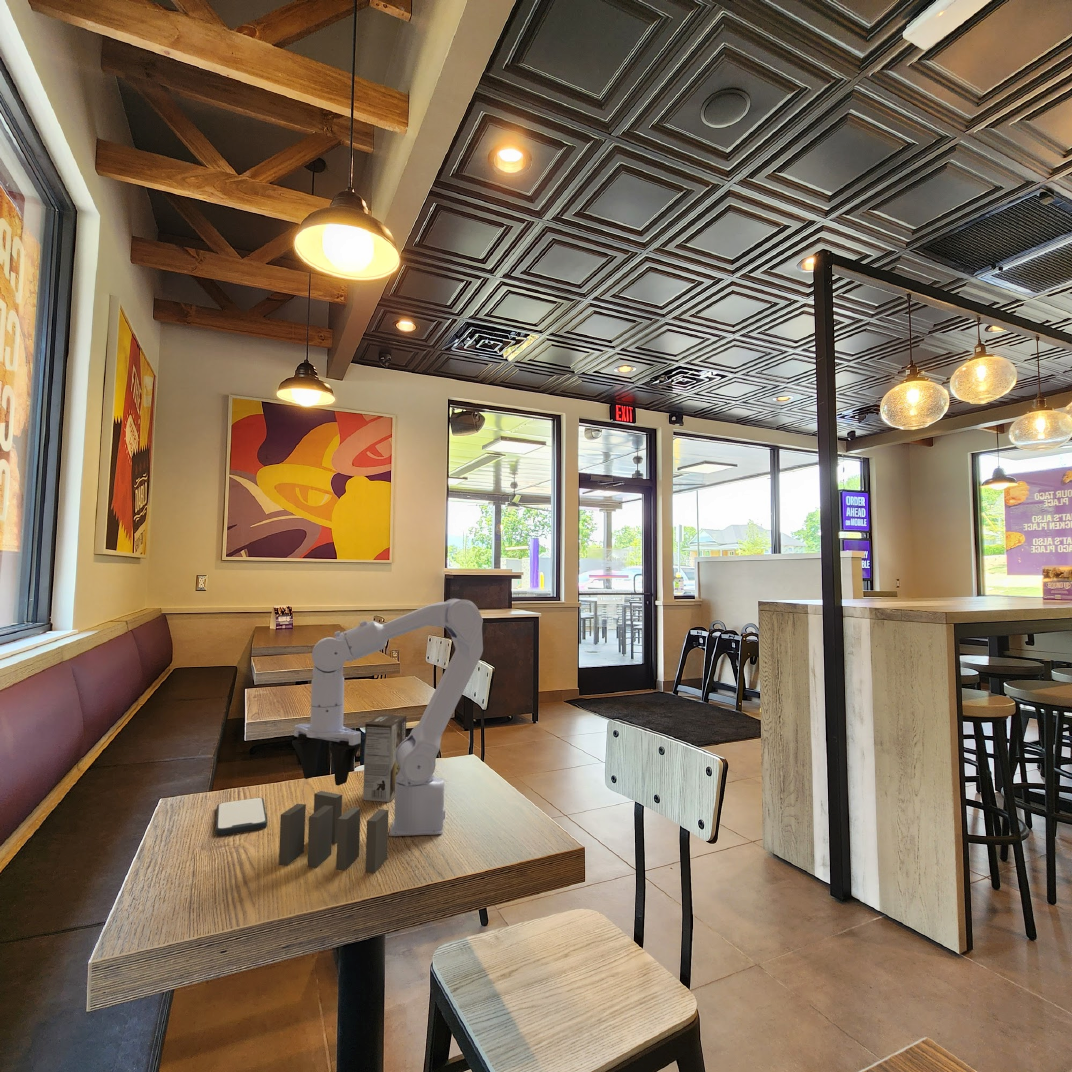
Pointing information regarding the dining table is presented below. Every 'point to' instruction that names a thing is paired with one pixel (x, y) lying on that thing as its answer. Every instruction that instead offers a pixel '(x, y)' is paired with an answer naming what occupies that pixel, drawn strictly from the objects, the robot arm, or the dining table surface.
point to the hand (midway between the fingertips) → (325, 780)
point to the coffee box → (382, 756)
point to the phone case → (240, 816)
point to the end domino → (330, 800)
